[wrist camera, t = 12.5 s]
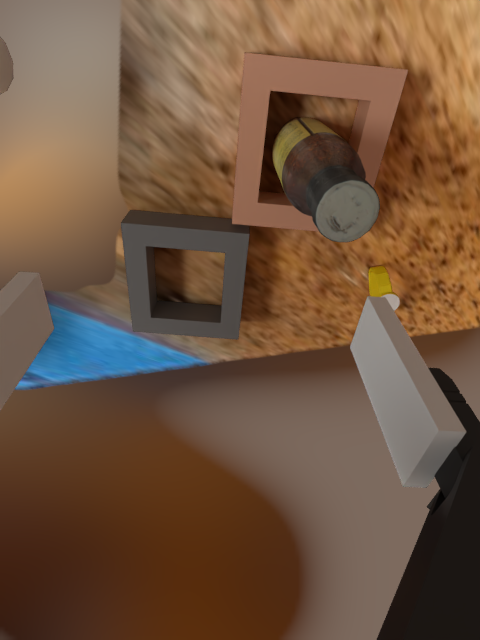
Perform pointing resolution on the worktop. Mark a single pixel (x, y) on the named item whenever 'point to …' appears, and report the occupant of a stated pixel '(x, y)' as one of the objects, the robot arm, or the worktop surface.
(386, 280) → the watch
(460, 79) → the worktop surface
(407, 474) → the robot arm
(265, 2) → the worktop surface
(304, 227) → the holder
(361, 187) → the sauce bottle
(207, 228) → the holder
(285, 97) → the worktop surface
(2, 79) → the foam cup
